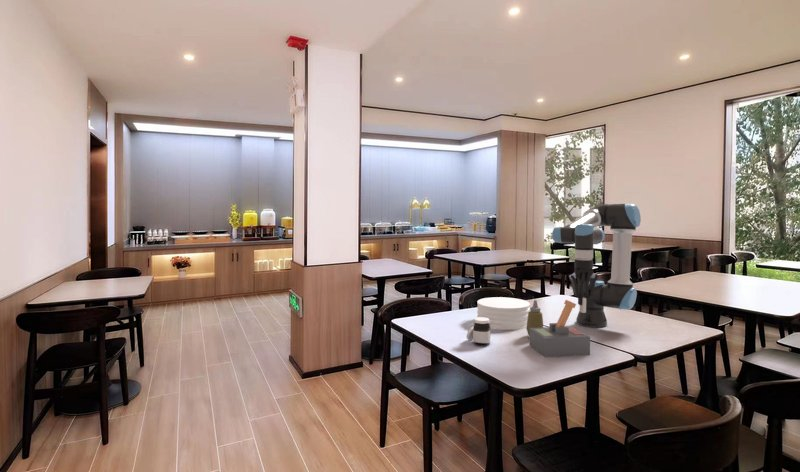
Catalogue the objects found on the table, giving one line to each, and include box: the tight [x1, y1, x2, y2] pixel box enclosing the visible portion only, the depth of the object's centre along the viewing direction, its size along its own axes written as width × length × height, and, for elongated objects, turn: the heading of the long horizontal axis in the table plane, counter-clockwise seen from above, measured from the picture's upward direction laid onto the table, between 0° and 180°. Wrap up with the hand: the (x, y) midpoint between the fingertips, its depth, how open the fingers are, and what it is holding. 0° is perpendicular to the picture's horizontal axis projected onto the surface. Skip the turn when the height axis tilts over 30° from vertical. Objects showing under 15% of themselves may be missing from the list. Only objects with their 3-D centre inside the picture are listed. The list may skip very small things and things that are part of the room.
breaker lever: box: [555, 299, 577, 327], centre depth 186 cm, size 3×4×14 cm
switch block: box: [528, 322, 591, 358], centre depth 187 cm, size 20×16×11 cm
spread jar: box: [466, 317, 491, 347], centre depth 198 cm, size 12×11×12 cm
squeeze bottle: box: [525, 299, 544, 336], centre depth 206 cm, size 8×8×18 cm
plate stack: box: [476, 296, 531, 331], centre depth 232 cm, size 28×28×12 cm
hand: (582, 312), depth 187 cm, fingers closed
